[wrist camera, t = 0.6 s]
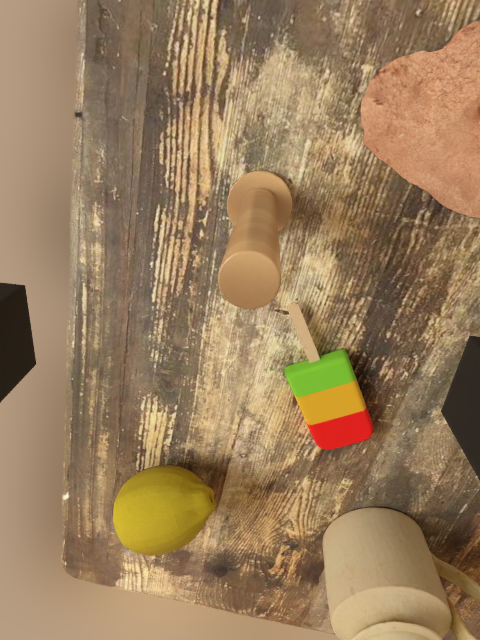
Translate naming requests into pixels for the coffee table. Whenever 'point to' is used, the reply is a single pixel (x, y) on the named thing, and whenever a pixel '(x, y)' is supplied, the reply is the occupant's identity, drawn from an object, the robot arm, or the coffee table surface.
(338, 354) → the popsicle
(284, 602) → the coffee table surface
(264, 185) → the stick
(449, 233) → the coffee table surface
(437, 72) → the clay slab
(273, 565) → the coffee table surface
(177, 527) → the lemon
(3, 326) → the robot arm
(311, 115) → the coffee table surface
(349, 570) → the sugar bowl
